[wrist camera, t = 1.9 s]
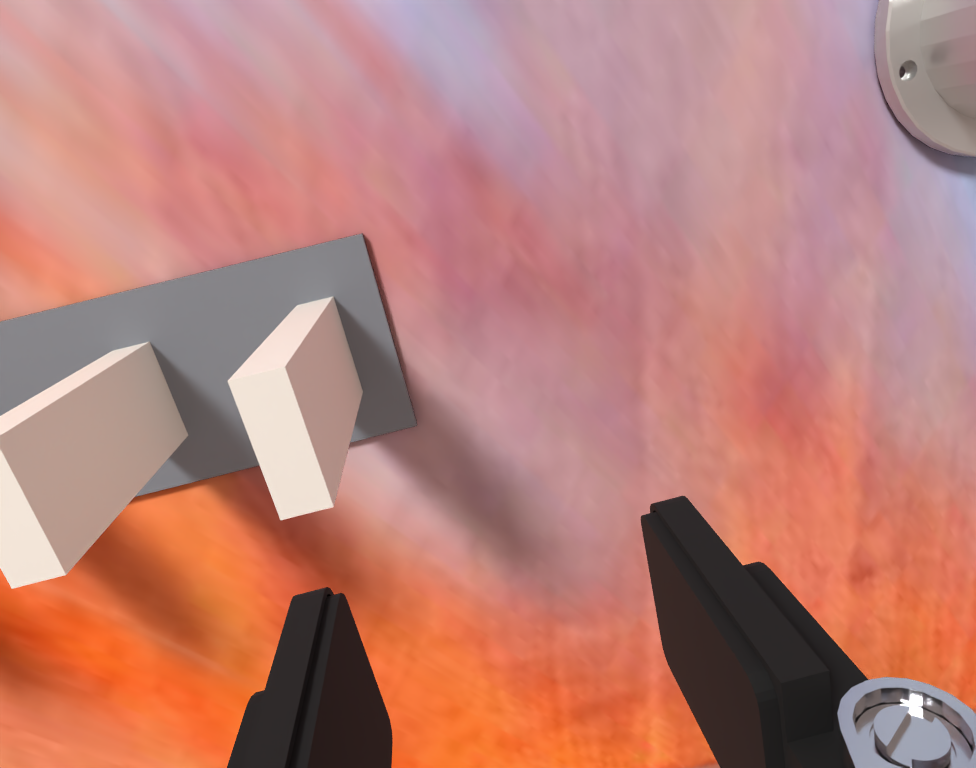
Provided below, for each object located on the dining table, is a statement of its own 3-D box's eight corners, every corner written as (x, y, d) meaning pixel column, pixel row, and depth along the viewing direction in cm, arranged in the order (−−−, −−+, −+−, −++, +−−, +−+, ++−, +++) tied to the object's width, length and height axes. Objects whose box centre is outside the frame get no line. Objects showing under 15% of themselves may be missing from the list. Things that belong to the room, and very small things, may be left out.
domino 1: (149, 341, 31) (-6, 438, 20) (188, 435, 33) (66, 574, 21) (112, 350, 31) (-64, 453, 20) (153, 444, 33) (12, 588, 21)
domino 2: (333, 296, 31) (285, 366, 20) (362, 391, 33) (333, 506, 22) (296, 305, 31) (227, 381, 20) (328, 400, 33) (280, 520, 22)
